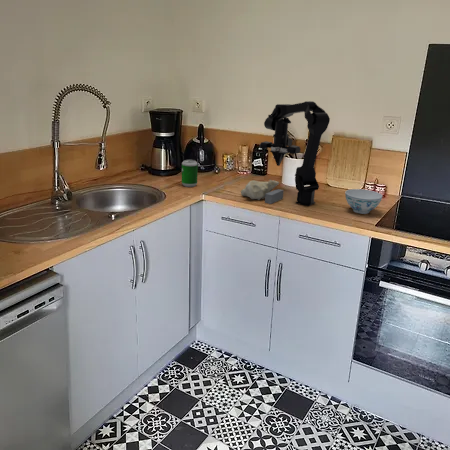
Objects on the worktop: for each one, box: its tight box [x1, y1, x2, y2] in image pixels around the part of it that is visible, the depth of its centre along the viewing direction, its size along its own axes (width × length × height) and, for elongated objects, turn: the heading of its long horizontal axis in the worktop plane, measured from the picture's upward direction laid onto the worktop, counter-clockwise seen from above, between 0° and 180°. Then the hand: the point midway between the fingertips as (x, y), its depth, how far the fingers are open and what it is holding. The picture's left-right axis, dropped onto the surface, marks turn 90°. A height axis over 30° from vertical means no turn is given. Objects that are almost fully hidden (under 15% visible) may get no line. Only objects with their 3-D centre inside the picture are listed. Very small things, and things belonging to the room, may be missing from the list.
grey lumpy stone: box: [240, 179, 280, 201], centre depth 205 cm, size 15×7×15 cm
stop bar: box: [264, 188, 284, 205], centre depth 203 cm, size 3×11×4 cm, turn 145°
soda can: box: [181, 159, 199, 188], centre depth 220 cm, size 8×8×12 cm
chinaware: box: [344, 188, 383, 215], centre depth 193 cm, size 15×15×8 cm
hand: (278, 165), depth 216 cm, fingers closed
